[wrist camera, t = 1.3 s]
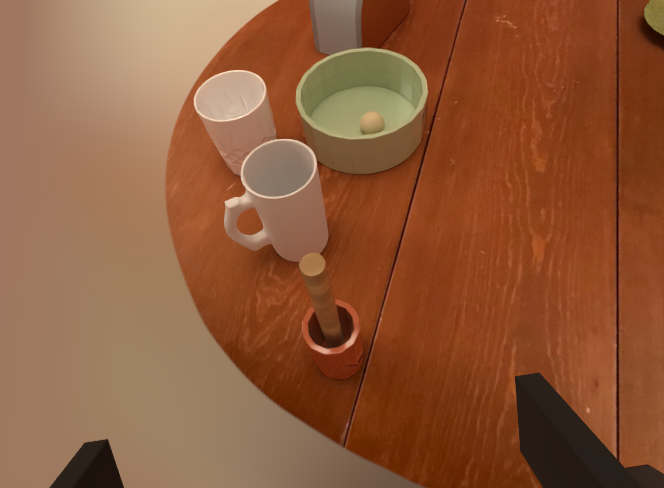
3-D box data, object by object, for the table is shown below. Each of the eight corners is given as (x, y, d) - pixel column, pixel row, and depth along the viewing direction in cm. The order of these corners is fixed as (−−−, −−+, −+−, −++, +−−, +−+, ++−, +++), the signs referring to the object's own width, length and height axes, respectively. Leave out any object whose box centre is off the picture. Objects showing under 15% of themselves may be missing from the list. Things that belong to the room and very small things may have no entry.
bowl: (281, 123, 59) (272, 86, 53) (373, 71, 62) (372, 31, 57) (350, 195, 52) (346, 161, 46) (449, 132, 55) (456, 93, 50)
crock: (306, 350, 43) (291, 320, 36) (344, 322, 44) (337, 288, 37) (333, 389, 41) (323, 366, 34) (373, 359, 42) (371, 330, 35)
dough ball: (355, 132, 56) (354, 114, 53) (374, 120, 56) (374, 102, 54) (370, 146, 54) (369, 128, 52) (389, 134, 55) (389, 115, 52)
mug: (312, 203, 52) (294, 127, 41) (342, 244, 48) (331, 174, 38) (234, 245, 50) (195, 177, 39) (260, 291, 46) (224, 230, 36)
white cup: (271, 125, 59) (251, 60, 50) (293, 166, 55) (276, 103, 46) (215, 148, 58) (185, 86, 49) (233, 191, 54) (205, 131, 45)
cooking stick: (327, 351, 42) (293, 262, 27) (340, 341, 42) (315, 247, 27) (337, 365, 41) (308, 281, 26) (350, 355, 42) (331, 265, 26)
